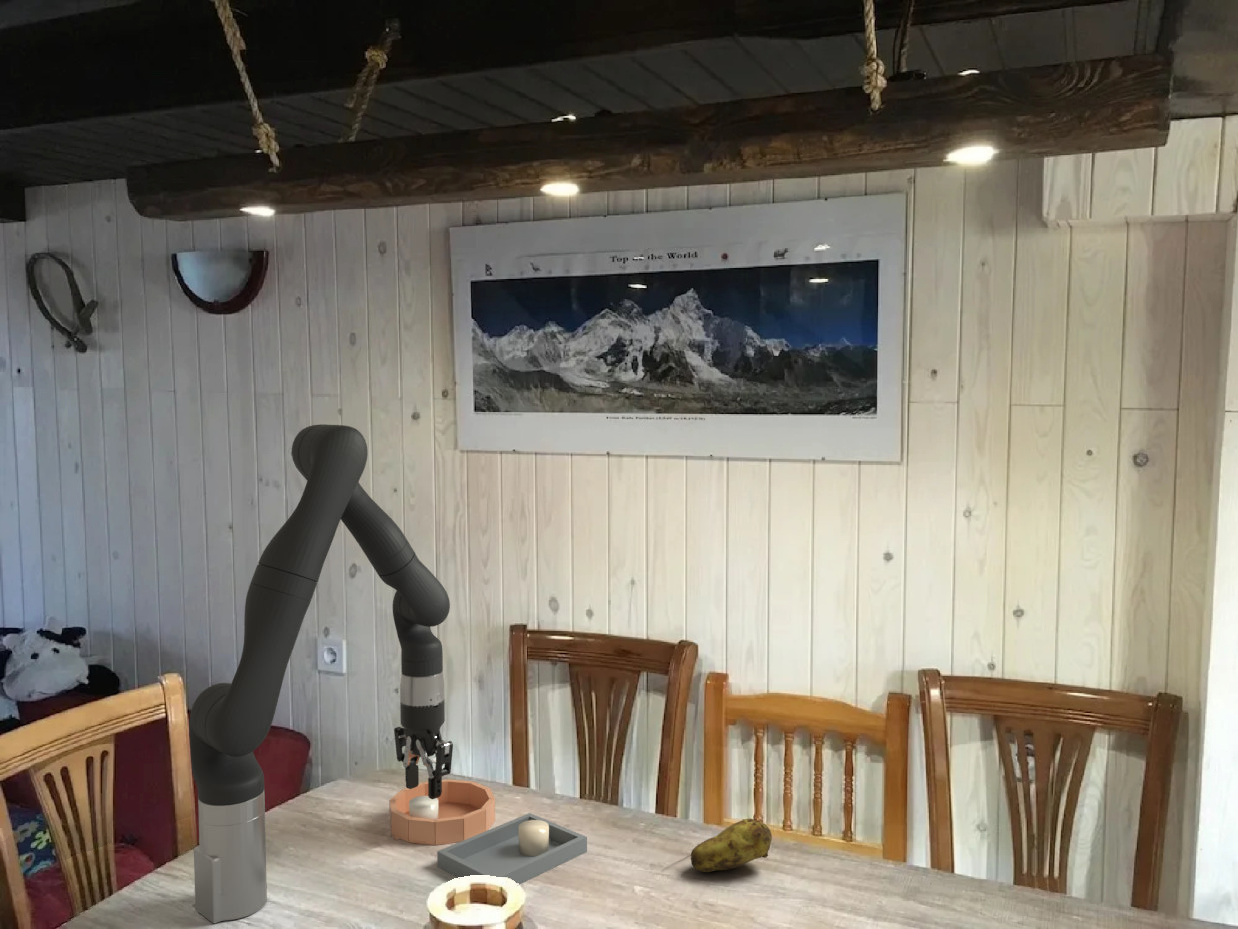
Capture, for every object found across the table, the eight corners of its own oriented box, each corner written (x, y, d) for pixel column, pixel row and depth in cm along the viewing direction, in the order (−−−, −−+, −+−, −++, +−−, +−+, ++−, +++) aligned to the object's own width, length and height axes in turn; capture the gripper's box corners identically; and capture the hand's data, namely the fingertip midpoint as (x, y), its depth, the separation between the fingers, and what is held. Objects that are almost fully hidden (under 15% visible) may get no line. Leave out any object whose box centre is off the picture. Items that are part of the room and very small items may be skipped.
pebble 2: (532, 859, 162) (532, 835, 162) (512, 850, 165) (512, 826, 165) (555, 849, 166) (555, 826, 165) (534, 840, 169) (534, 817, 169)
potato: (693, 855, 166) (693, 808, 166) (771, 860, 164) (771, 813, 164) (689, 878, 158) (689, 829, 157) (771, 885, 156) (772, 835, 155)
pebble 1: (420, 833, 170) (420, 810, 170) (403, 824, 173) (403, 801, 173) (444, 823, 174) (444, 801, 173) (426, 815, 177) (426, 793, 177)
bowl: (432, 860, 164) (432, 831, 163) (370, 828, 176) (369, 800, 176) (514, 825, 177) (514, 798, 177) (451, 798, 189) (451, 772, 189)
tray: (494, 902, 150) (494, 880, 150) (437, 872, 160) (437, 851, 159) (587, 857, 165) (587, 837, 165) (529, 832, 174) (529, 813, 174)
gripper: (379, 694, 174) (381, 787, 175) (430, 711, 164) (431, 811, 165) (415, 684, 180) (416, 776, 181) (465, 701, 170) (466, 797, 171)
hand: (423, 792), depth 173 cm, fingers open, 6 cm apart
